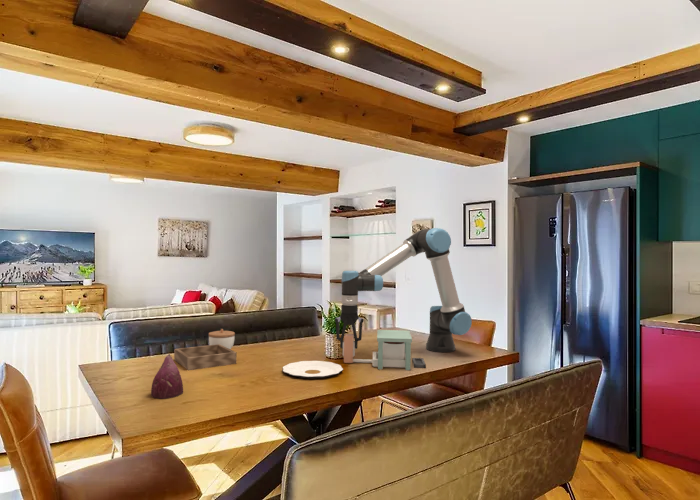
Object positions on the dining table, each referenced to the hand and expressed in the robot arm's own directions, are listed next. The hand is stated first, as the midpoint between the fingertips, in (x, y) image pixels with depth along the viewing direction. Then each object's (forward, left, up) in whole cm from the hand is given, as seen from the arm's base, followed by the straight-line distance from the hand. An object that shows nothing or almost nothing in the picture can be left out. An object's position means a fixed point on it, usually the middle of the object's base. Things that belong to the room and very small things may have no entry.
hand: (348, 355), depth 208 cm
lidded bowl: (+40, -52, -3) cm, 66 cm away
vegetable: (+80, +3, -3) cm, 80 cm away
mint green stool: (-16, +13, -3) cm, 21 cm away
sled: (-10, +8, -3) cm, 13 cm away
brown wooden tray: (+54, -35, -3) cm, 65 cm away
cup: (-16, +13, -3) cm, 21 cm away
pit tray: (-24, +20, -3) cm, 32 cm away
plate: (+22, +5, -4) cm, 23 cm away
